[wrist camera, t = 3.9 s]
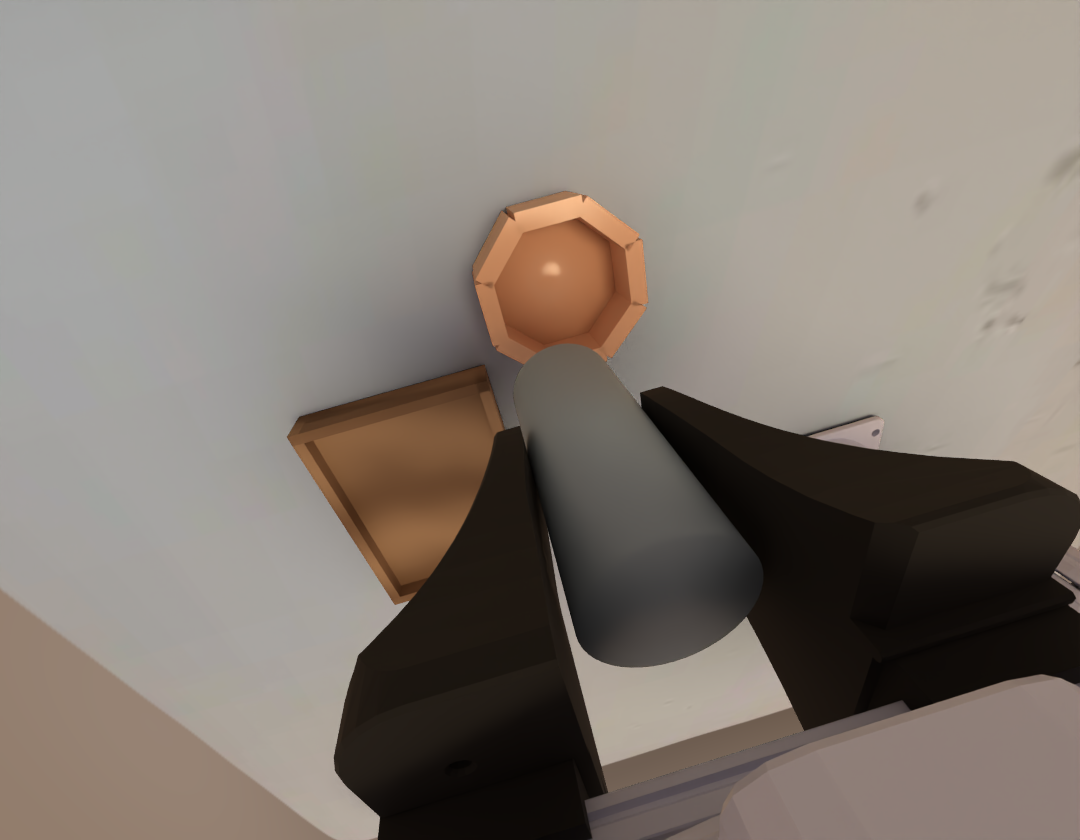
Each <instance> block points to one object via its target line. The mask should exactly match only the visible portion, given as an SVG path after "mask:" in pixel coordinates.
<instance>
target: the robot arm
mask: <svg viewBox="0 0 1080 840" xmlns="http://www.w3.org/2000/svg"><path fill="white" fill-rule="evenodd" d="M640 396H641V406H642V409H643V411H644V412H645V413H646V414H647V416H648V417H649V418H650V419H651V421H652V422H653V423H654V425H655V426H656V427H657V428H658V430H659V431H660V432H661V434H662V435H663V436H664V437H665V439H666V440H667V441H668V442H669V444H670V445H671V446H672V448H673V449H674V450H675V451H676V453H677V454H678V455H679V457H680V458H681V459H682V460H683V462H684V463H685V464H686V465H687V467H688V468H689V469H690V471H691V472H692V473H693V474H694V476H695V477H696V478H697V480H698V481H699V482H700V483H701V485H702V486H703V487H704V488H705V490H706V491H707V492H708V494H709V495H710V496H711V497H712V499H713V500H714V501H715V502H716V504H717V505H718V506H719V508H720V509H721V510H722V511H723V513H724V514H725V515H726V517H727V518H728V519H729V520H730V522H731V523H732V524H733V525H734V527H735V528H736V529H737V531H738V532H739V533H740V534H741V536H742V537H743V538H744V540H745V541H746V542H747V543H748V545H749V546H750V547H751V548H752V550H753V551H754V552H755V554H756V555H757V556H758V558H759V560H760V562H761V564H762V568H763V585H762V589H761V592H760V595H759V597H758V599H757V601H756V603H755V605H754V607H753V608H752V609H751V611H750V612H749V614H748V615H747V618H748V620H749V622H750V624H751V626H752V627H753V629H754V631H755V633H756V635H757V637H758V639H759V641H760V643H761V645H762V647H763V648H764V650H765V652H766V654H767V656H768V658H769V660H770V662H771V664H772V666H773V668H774V670H775V672H776V674H777V676H778V678H779V680H780V682H781V684H782V686H783V688H784V690H785V692H786V694H787V696H788V698H789V700H790V702H791V704H792V706H793V708H794V711H795V712H796V715H797V716H798V719H799V721H800V723H801V725H802V727H803V729H804V731H803V732H800V733H796V734H793V735H790V736H787V737H784V738H781V739H777V740H774V741H771V742H768V743H765V744H762V745H759V746H756V747H752V748H749V749H746V750H743V751H740V752H737V753H733V754H730V755H727V756H724V757H721V758H717V759H714V760H711V761H708V762H705V763H701V764H698V765H695V766H692V767H689V768H685V769H682V770H679V771H676V772H673V773H670V774H666V775H663V776H660V777H657V778H654V779H651V780H647V781H645V782H641V783H638V784H635V785H632V786H629V787H625V788H622V789H619V790H616V791H613V792H609V793H608V791H607V787H606V783H605V780H604V775H603V771H602V768H601V764H600V760H599V756H598V752H597V748H596V745H595V741H594V737H593V733H592V729H591V725H590V721H589V718H588V714H587V710H586V706H585V702H584V698H583V694H582V690H581V687H580V683H579V679H578V675H577V671H576V667H575V663H574V659H573V655H572V652H571V648H570V644H569V640H568V636H567V632H566V628H565V624H564V620H563V616H562V612H561V608H560V603H559V598H558V593H557V587H556V580H555V574H554V568H553V561H552V555H551V549H550V542H549V536H548V530H547V524H546V521H545V517H544V513H543V509H542V506H541V502H540V498H539V494H538V491H537V487H536V483H535V479H534V475H533V471H532V468H531V464H530V460H529V456H528V453H527V449H526V446H525V442H524V438H523V435H522V431H521V428H520V426H518V427H514V428H511V429H507V430H503V431H500V432H497V433H496V435H495V436H494V441H493V447H492V451H491V455H490V458H489V462H488V465H487V468H486V471H485V474H484V477H483V480H482V483H481V485H480V488H479V490H478V492H477V495H476V497H475V499H474V502H473V504H472V506H471V509H470V511H469V513H468V515H467V517H466V519H465V521H464V523H463V525H462V526H461V528H460V530H459V532H458V534H457V535H456V537H455V539H454V541H453V542H452V544H451V545H450V547H449V548H448V550H447V552H446V553H445V555H444V556H443V558H442V559H441V561H440V562H439V564H438V565H437V567H436V568H435V570H434V571H433V572H432V574H431V575H430V577H429V578H428V579H427V580H426V582H425V583H424V584H423V585H422V587H421V588H420V589H419V590H418V592H417V593H416V594H415V595H414V597H413V598H412V599H411V600H410V601H409V603H408V604H407V605H406V606H405V607H404V608H403V609H402V611H401V612H400V613H399V614H398V615H397V616H396V617H395V618H394V619H393V620H392V621H391V622H390V624H389V625H388V626H387V627H386V628H385V629H384V630H383V631H382V632H381V633H380V634H379V635H378V636H377V637H376V638H375V639H374V640H373V641H372V642H371V643H370V644H369V645H368V646H367V647H366V648H365V649H364V650H363V651H362V652H361V653H360V654H359V655H358V658H357V662H356V665H355V669H354V672H353V675H352V678H351V681H350V684H349V688H348V691H347V695H346V699H345V703H344V708H343V714H342V719H341V724H340V729H339V734H338V739H337V744H336V749H335V754H334V765H335V772H336V773H337V774H338V776H339V777H340V779H341V780H342V781H343V783H344V784H345V785H346V786H347V787H348V788H349V789H350V790H351V791H352V792H353V793H354V794H356V795H357V796H358V797H359V798H360V799H361V800H362V801H363V802H364V803H365V804H367V805H368V806H369V807H370V808H371V809H372V810H373V811H374V812H375V813H377V814H378V815H379V816H380V824H379V833H378V840H1080V550H1078V549H1076V548H1074V547H1073V546H1071V544H1072V542H1073V541H1074V539H1075V537H1076V535H1077V533H1078V531H1079V529H1080V500H1079V498H1078V496H1077V495H1076V494H1075V493H1073V492H1071V491H1069V490H1067V489H1065V488H1063V487H1062V486H1060V485H1058V484H1056V483H1054V482H1052V481H1051V480H1049V479H1047V478H1045V477H1043V476H1041V475H1039V474H1038V473H1036V472H1034V471H1032V470H1030V469H1028V468H1027V467H1025V466H1023V465H1021V464H1019V463H1017V462H1014V461H1000V460H983V459H967V458H950V457H936V456H926V455H917V454H908V453H899V452H890V451H883V450H878V448H879V444H880V439H881V435H882V431H883V426H884V420H883V419H881V418H880V417H878V416H874V417H871V418H867V419H864V420H860V421H857V422H854V423H850V424H847V425H844V426H840V427H837V428H833V429H830V430H827V431H823V432H820V433H817V434H813V435H810V436H803V435H799V434H795V433H791V432H787V431H783V430H780V429H776V428H773V427H770V426H766V425H763V424H760V423H757V422H754V421H751V420H748V419H745V418H742V417H740V416H737V415H734V414H731V413H729V412H726V411H723V410H721V409H718V408H716V407H713V406H711V405H708V404H706V403H703V402H701V401H698V400H696V399H694V398H691V397H689V396H686V395H684V394H682V393H679V392H677V391H674V390H672V389H669V388H666V387H663V386H662V387H658V388H655V389H651V390H648V391H644V392H640ZM1054 571H1056V572H1058V573H1059V574H1061V575H1062V576H1064V577H1065V578H1067V579H1068V580H1070V581H1071V582H1072V583H1071V584H1070V583H1068V582H1067V581H1065V580H1064V579H1062V578H1061V577H1059V576H1058V575H1057V574H1055V573H1054Z"/></svg>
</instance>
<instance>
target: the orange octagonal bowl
mask: <svg viewBox="0 0 1080 840" xmlns="http://www.w3.org/2000/svg"><path fill="white" fill-rule="evenodd" d="M506 210H507V214H506V213H505V212H503V211H501V213H500V214H499V216H498V218H497V220H496V222H495V224H494V226H493V228H492V230H491V232H490V234H489V235H488V237H487V239H486V241H485V243H484V245H483V247H482V249H481V251H480V253H479V254H478V256H477V258H476V260H475V262H474V264H473V266H472V267H473V271H472V274H473V279H474V284H475V288H476V291H477V295H478V298H479V301H480V305H481V308H482V311H483V315H484V318H485V321H486V325H487V328H488V331H489V335H490V338H491V341H492V345H493V346H495V347H496V350H497V351H499V352H501V353H502V354H504V355H506V356H508V357H510V358H512V359H514V360H516V361H518V362H520V363H522V364H525V363H526V362H527V361H528V360H529V359H530V358H531V357H532V356H534V355H535V354H536V353H538V352H539V351H541V350H543V349H545V348H547V347H550V346H553V345H558V344H567V343H569V344H578V345H582V346H585V347H588V348H590V349H592V350H593V351H595V352H596V353H598V354H599V355H600V356H601V357H602V358H603V359H604V361H605V362H606V361H607V356H609V357H610V358H612V357H613V355H614V354H615V352H616V351H617V350H618V348H619V347H620V345H621V344H622V342H623V341H624V340H625V338H626V337H627V335H628V334H629V333H630V331H631V330H632V328H633V327H634V325H635V324H636V323H637V321H638V320H639V318H640V317H641V315H642V314H643V313H644V311H645V310H646V307H645V306H643V305H642V304H646V303H648V296H647V285H646V275H645V264H644V253H643V243H642V239H639V238H638V236H639V234H638V233H637V232H635V231H634V230H633V229H631V228H630V227H629V226H627V225H626V224H625V223H623V222H622V221H621V220H619V219H618V218H616V217H615V216H614V215H612V214H611V213H610V212H608V211H607V210H606V209H604V208H603V207H602V206H600V205H599V204H598V203H596V202H595V201H594V200H592V199H591V198H590V197H588V196H586V195H581V194H577V193H573V192H567V191H563V192H560V193H556V194H552V195H549V196H545V197H541V198H537V199H534V200H530V201H526V202H523V203H519V204H515V205H512V206H508V207H506ZM606 355H607V356H606Z"/></svg>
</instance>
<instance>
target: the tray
mask: <svg viewBox="0 0 1080 840" xmlns="http://www.w3.org/2000/svg"><path fill="white" fill-rule="evenodd" d="M503 430H505V428H504V424H503V421H502V418H501V415H500V412H499V409H498V406H497V403H496V399H495V396H494V393H493V390H492V387H491V384H490V381H489V377H488V374H487V371H486V368H485V365H482V366H478V367H475V368H471V369H468V370H464V371H460V372H457V373H453V374H450V375H446V376H443V377H439V378H436V379H432V380H429V381H425V382H421V383H418V384H414V385H411V386H407V387H404V388H400V389H397V390H393V391H390V392H386V393H382V394H379V395H375V396H372V397H368V398H365V399H361V400H358V401H354V402H351V403H347V404H344V405H340V406H336V407H333V408H329V409H326V410H322V411H319V412H315V413H312V414H308V415H305V416H301V417H299V418H298V420H297V421H296V423H295V425H294V426H293V428H292V430H291V431H290V433H289V435H288V436H287V438H288V440H289V441H290V443H291V445H292V446H293V448H294V449H295V451H296V452H297V454H298V455H299V457H300V458H301V460H302V462H303V463H304V465H305V466H306V468H307V469H308V471H309V472H310V474H311V476H312V477H313V479H314V480H315V482H316V483H317V485H318V486H319V488H320V489H321V491H322V493H323V494H324V496H325V497H326V499H327V500H328V502H329V503H330V505H331V507H332V508H333V510H334V511H335V513H336V514H337V516H338V517H339V519H340V520H341V522H342V524H343V525H344V527H345V528H346V530H347V531H348V533H349V534H350V536H351V538H352V539H353V541H354V542H355V544H356V545H357V547H358V548H359V550H360V551H361V553H362V555H363V556H364V558H365V559H366V561H367V562H368V564H369V565H370V567H371V569H372V570H373V572H374V573H375V575H376V576H377V578H378V579H379V581H380V582H381V584H382V586H383V587H384V589H385V590H386V592H387V593H388V595H389V596H390V598H391V600H392V601H393V603H394V604H395V605H396V604H400V603H403V602H406V601H410V600H411V599H412V598H413V597H414V595H415V594H416V593H417V592H418V590H419V589H420V588H421V587H422V585H423V584H424V583H425V582H426V580H427V579H428V578H429V577H430V575H431V574H432V572H433V571H434V570H435V568H436V567H437V565H438V564H439V562H440V561H441V559H442V558H443V556H444V555H445V553H446V552H447V550H448V548H449V547H450V545H451V544H452V542H453V541H454V539H455V537H456V535H457V534H458V532H459V530H460V528H461V526H462V525H463V523H464V521H465V519H466V517H467V515H468V513H469V511H470V509H471V506H472V504H473V502H474V499H475V497H476V495H477V492H478V490H479V488H480V485H481V483H482V480H483V477H484V474H485V471H486V468H487V465H488V462H489V458H490V455H491V451H492V447H493V441H494V436H495V435H496V433H497V432H500V431H503Z"/></svg>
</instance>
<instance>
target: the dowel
mask: <svg viewBox="0 0 1080 840" xmlns="http://www.w3.org/2000/svg"><path fill="white" fill-rule="evenodd" d="M513 398H514V404H515V408H516V412H517V415H518V419H519V423H520V427H521V430H522V434H523V438H524V442H525V445H526V449H527V453H528V456H529V460H530V464H531V468H532V471H533V475H534V479H535V483H536V487H537V491H538V494H539V498H540V502H541V506H542V509H543V513H544V517H545V521H546V524H547V528H548V532H549V536H550V540H551V543H552V547H553V551H554V555H555V558H556V562H557V566H558V570H559V573H560V577H561V581H562V585H563V588H564V592H565V596H566V600H567V604H568V607H569V611H570V615H571V619H572V622H573V626H574V630H575V634H576V637H577V639H578V642H579V644H580V645H581V647H582V648H583V649H584V650H585V651H586V652H587V653H588V654H589V655H590V656H592V657H593V658H595V659H597V660H599V661H601V662H603V663H607V664H610V665H614V666H620V667H649V666H656V665H662V664H666V663H670V662H674V661H677V660H680V659H683V658H686V657H688V656H690V655H693V654H695V653H697V652H699V651H701V650H703V649H705V648H707V647H709V646H711V645H712V644H714V643H716V642H717V641H719V640H720V639H722V638H723V637H725V636H726V635H727V634H728V633H730V632H731V631H732V630H733V629H734V628H735V627H737V626H738V625H739V624H740V623H741V622H742V621H743V619H744V618H745V617H746V616H747V615H748V614H749V612H750V611H751V609H752V608H753V607H754V605H755V603H756V601H757V599H758V597H759V595H760V592H761V589H762V585H763V568H762V564H761V562H760V560H759V558H758V556H757V555H756V554H755V552H754V551H753V550H752V548H751V547H750V546H749V545H748V543H747V542H746V541H745V540H744V538H743V537H742V536H741V534H740V533H739V532H738V531H737V529H736V528H735V527H734V525H733V524H732V523H731V522H730V520H729V519H728V518H727V517H726V515H725V514H724V513H723V511H722V510H721V509H720V508H719V506H718V505H717V504H716V502H715V501H714V500H713V499H712V497H711V496H710V495H709V494H708V492H707V491H706V490H705V488H704V487H703V486H702V485H701V483H700V482H699V481H698V480H697V478H696V477H695V476H694V474H693V473H692V472H691V471H690V469H689V468H688V467H687V465H686V464H685V463H684V462H683V460H682V459H681V458H680V457H679V455H678V454H677V453H676V451H675V450H674V449H673V448H672V446H671V445H670V444H669V442H668V441H667V440H666V439H665V437H664V436H663V435H662V434H661V432H660V431H659V430H658V428H657V427H656V426H655V425H654V423H653V422H652V421H651V419H650V418H649V417H648V416H647V414H646V413H645V412H644V411H643V409H642V408H641V407H640V405H639V404H638V403H637V402H636V400H635V399H634V398H633V396H632V395H631V394H630V393H629V391H628V390H627V389H626V388H625V386H624V385H623V384H622V382H621V381H620V380H619V379H618V377H617V376H616V375H615V374H614V372H613V371H612V370H611V368H610V367H609V366H608V365H607V363H606V362H605V361H604V359H603V358H602V357H601V356H600V355H599V354H598V353H596V352H595V351H593V350H592V349H590V348H588V347H585V346H582V345H578V344H569V343H567V344H558V345H553V346H550V347H547V348H545V349H543V350H541V351H539V352H538V353H536V354H535V355H534V356H532V357H531V358H530V359H529V360H528V361H527V362H526V363H525V364H524V366H523V367H522V368H521V370H520V372H519V373H518V375H517V378H516V380H515V384H514V391H513Z"/></svg>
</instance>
